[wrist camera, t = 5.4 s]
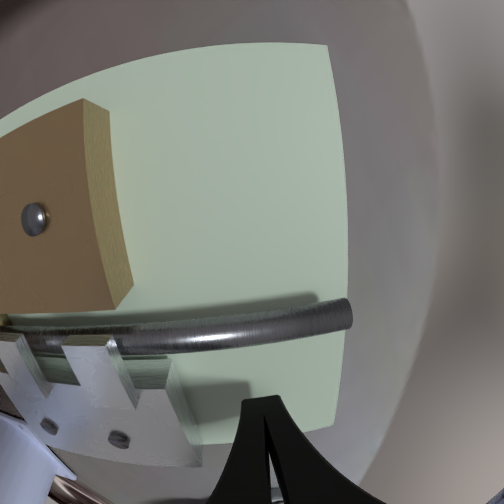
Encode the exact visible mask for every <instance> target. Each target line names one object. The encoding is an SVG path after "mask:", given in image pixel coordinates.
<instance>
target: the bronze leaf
mask: <svg viewBox="0 0 504 504" xmlns="http://www.w3.org/2000/svg"><path fill="white" fill-rule="evenodd" d="M133 286H134V281H133V277H132V273H131V268H130V264H129V259H128V255H127V250H126V245H125V240H124V235H123V230H122V224H121V219H120V213H119V206H118V200H117V193H116V185H115V177H114V168H113V158H112V146H111V132H110V111H108V110H106V109H104V108H102V107H100V106H98V105H96V104H94V103H92V102H90V101H88V100H86V99H84V98H82V99H79V100H77V101H74V102H72V103H69V104H67V105H64V106H62V107H59V108H57V109H55V110H53V111H50V112H48V113H46V114H44V115H42V116H40V117H38V118H36V119H34V120H32V121H30V122H28V123H26V124H24V125H22V126H20V127H18V128H16V129H15V130H13V131H11V132H9V133H8V134H6V135H4V136H2V137H1V138H0V332H6V333H22V334H24V336H25V339H26V341H27V343H28V345H29V347H30V349H31V351H32V352H39V353H51V354H65V353H64V351H63V349H62V347H61V345H62V343H63V342H64V341H65V340H66V339H67V337H68V336H69V335H109V334H113V337H114V340H115V342H116V345H117V347H118V350H119V352H120V355H121V356H137V355H164V354H181V353H194V352H206V351H217V350H226V349H235V348H243V347H251V346H258V345H265V344H272V343H278V342H285V341H291V340H296V339H302V338H307V337H313V336H318V335H323V334H328V333H333V332H337V331H342V330H346V329H350V328H351V326H352V322H353V315H352V309H351V306H350V303H349V301H348V300H347V299H346V298H345V297H344V298H338V299H333V300H327V301H322V302H316V303H310V304H304V305H298V306H292V307H285V308H279V309H272V310H265V311H258V312H250V313H242V314H234V315H226V316H217V317H208V318H199V319H188V320H177V321H165V322H152V323H137V324H119V325H95V326H14V325H13V324H12V322H11V321H10V319H9V318H8V317H7V316H6V315H4V314H39V313H69V312H90V311H107V310H116V308H117V307H118V306H119V304H120V303H121V302H122V300H123V299H124V298H125V296H126V295H127V294H128V292H129V291H130V290H131V288H132V287H133Z"/></svg>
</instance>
